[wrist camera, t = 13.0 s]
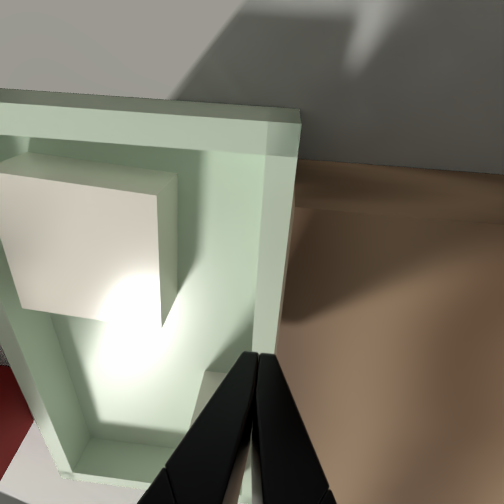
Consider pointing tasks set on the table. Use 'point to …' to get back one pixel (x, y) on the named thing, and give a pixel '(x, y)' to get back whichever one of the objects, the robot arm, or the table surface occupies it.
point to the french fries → (11, 417)
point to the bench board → (397, 330)
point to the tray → (189, 276)
